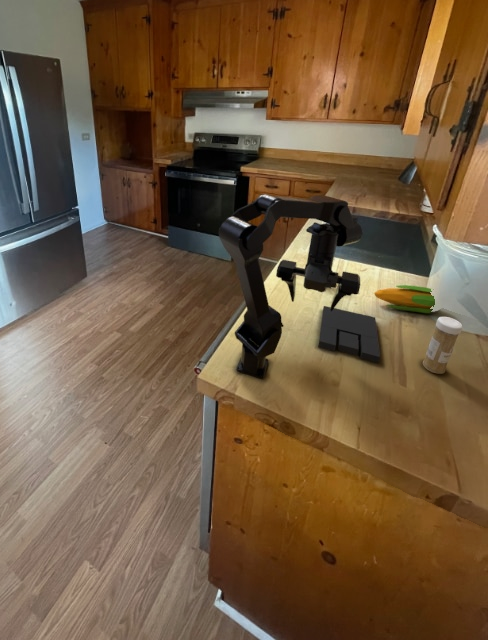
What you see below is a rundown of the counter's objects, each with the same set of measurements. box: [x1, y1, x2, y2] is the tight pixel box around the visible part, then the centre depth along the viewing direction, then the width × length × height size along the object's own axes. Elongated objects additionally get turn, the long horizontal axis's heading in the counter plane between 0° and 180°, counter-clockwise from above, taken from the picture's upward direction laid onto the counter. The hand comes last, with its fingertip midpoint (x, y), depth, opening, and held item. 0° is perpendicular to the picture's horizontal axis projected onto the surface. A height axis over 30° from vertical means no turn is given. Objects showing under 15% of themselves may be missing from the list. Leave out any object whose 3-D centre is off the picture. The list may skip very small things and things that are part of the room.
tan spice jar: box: [422, 316, 463, 375], centre depth 77 cm, size 5×5×14 cm
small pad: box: [337, 331, 360, 356], centre depth 86 cm, size 6×4×2 cm
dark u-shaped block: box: [317, 305, 381, 364], centre depth 91 cm, size 18×14×2 cm
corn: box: [373, 284, 435, 314], centre depth 102 cm, size 7×8×20 cm
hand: (311, 305), depth 84 cm, fingers open, 9 cm apart
